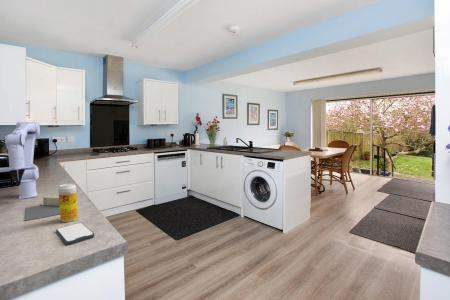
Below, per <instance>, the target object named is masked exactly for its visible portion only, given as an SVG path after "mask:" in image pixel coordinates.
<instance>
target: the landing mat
mask: <svg viewBox="0 0 450 300" xmlns="http://www.w3.org/2000/svg"><path fill="white" fill-rule="evenodd" d="M24 216H25V217H24V222H29V221H33V220H38V219H43V218H45V219H46V218H49V217H54V216H60V206H48V205H43V204H41V205H36V206H28V207H25V215H24Z"/></svg>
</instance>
